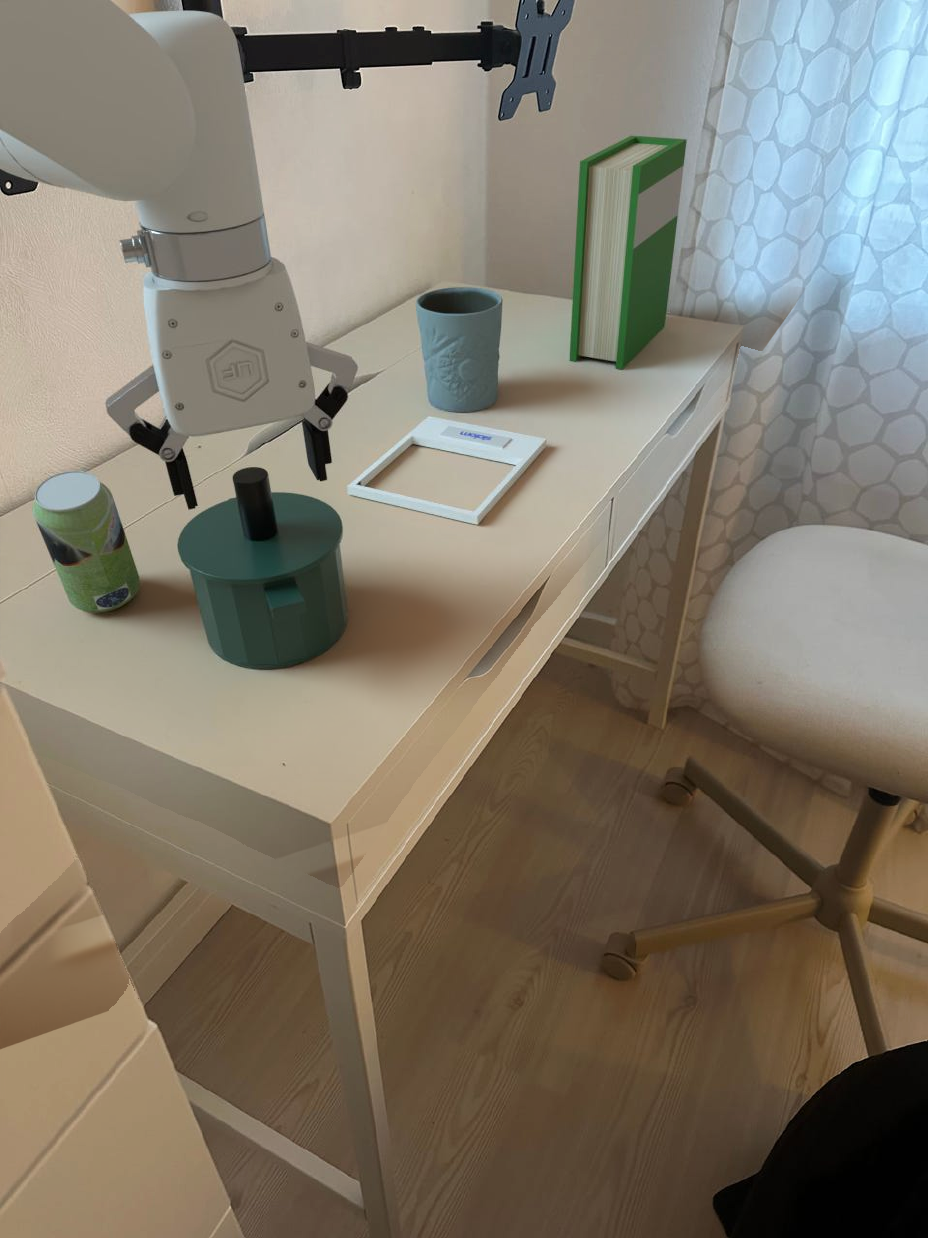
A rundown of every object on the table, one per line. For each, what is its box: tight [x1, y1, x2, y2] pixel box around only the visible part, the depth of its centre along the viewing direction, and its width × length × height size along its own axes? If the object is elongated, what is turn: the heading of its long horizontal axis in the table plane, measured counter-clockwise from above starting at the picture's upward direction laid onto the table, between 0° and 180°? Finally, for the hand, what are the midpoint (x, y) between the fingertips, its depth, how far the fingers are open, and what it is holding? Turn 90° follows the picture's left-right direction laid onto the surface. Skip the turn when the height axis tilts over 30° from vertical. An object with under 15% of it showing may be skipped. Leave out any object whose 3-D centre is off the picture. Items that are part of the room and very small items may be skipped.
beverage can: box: [32, 470, 141, 613], centre depth 74 cm, size 6×7×12 cm
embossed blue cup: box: [414, 286, 504, 413], centre depth 106 cm, size 10×10×12 cm
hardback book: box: [569, 135, 688, 370], centre depth 116 cm, size 18×7×24 cm, turn 152°
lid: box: [177, 466, 344, 585], centre depth 68 cm, size 13×13×6 cm
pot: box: [189, 496, 349, 670], centre depth 72 cm, size 12×17×8 cm
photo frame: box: [346, 415, 547, 526], centre depth 95 cm, size 15×1×18 cm
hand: (255, 486), depth 67 cm, fingers open, 9 cm apart
